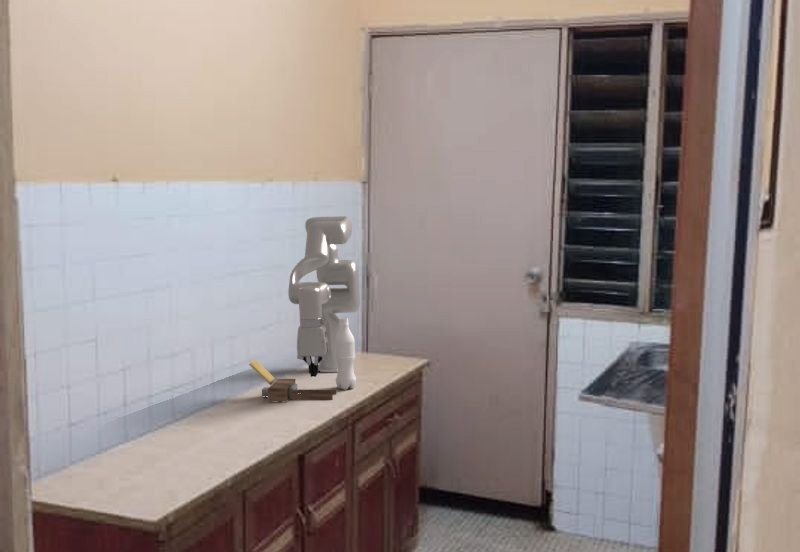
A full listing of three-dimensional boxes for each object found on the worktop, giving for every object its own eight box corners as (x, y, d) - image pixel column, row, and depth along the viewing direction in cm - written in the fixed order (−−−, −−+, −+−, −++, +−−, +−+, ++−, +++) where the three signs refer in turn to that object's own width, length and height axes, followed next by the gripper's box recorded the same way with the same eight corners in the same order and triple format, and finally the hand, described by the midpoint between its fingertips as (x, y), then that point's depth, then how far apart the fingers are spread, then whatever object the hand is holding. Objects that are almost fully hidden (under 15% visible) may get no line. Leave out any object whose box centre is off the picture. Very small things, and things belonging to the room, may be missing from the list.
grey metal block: (260, 399, 289) (260, 387, 289) (266, 394, 295) (265, 383, 295) (292, 399, 288) (292, 387, 287) (297, 395, 293) (297, 383, 293)
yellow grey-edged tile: (254, 360, 294) (255, 358, 294) (275, 381, 294) (277, 379, 294) (248, 364, 288) (250, 362, 288) (270, 385, 288) (272, 383, 288)
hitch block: (278, 391, 298) (278, 378, 298) (338, 391, 296) (337, 378, 296) (268, 402, 285) (267, 388, 284) (330, 402, 282) (330, 388, 282)
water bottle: (357, 385, 304) (355, 316, 301) (354, 390, 297) (352, 319, 294) (338, 385, 305) (335, 316, 302) (334, 390, 298) (331, 319, 295)
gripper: (335, 320, 290) (337, 372, 293) (292, 320, 292) (294, 372, 295) (330, 325, 283) (333, 378, 286) (286, 325, 285) (289, 378, 288)
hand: (313, 375), depth 290 cm, fingers closed
